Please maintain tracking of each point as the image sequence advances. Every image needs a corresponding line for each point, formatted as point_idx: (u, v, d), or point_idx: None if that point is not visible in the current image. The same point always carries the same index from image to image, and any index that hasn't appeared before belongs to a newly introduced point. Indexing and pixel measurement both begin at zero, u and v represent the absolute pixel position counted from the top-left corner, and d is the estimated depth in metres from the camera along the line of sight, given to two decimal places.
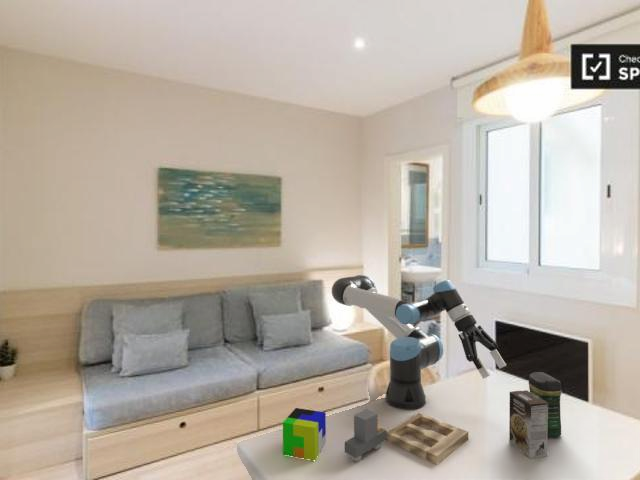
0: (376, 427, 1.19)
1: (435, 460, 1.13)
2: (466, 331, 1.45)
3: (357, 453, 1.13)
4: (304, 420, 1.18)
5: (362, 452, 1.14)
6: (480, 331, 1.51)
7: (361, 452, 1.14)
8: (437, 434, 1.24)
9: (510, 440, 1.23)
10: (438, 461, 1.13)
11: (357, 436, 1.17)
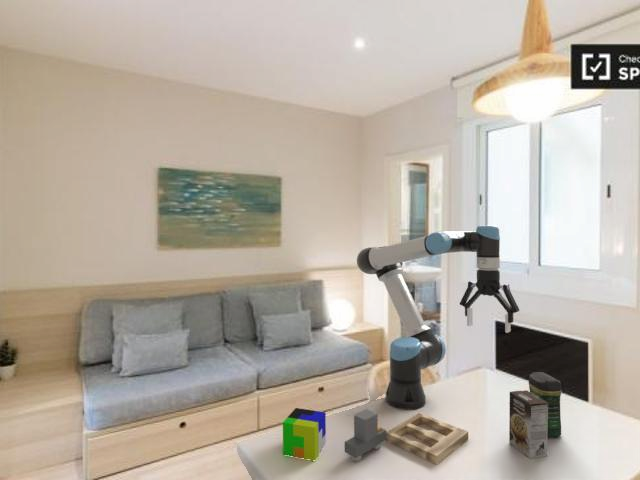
0: (376, 427, 1.19)
1: (435, 460, 1.13)
2: (476, 282, 1.43)
3: (357, 453, 1.13)
4: (304, 420, 1.18)
5: (362, 452, 1.14)
6: None
7: (361, 452, 1.14)
8: (437, 434, 1.24)
9: (510, 440, 1.23)
10: (438, 461, 1.13)
11: (357, 436, 1.17)
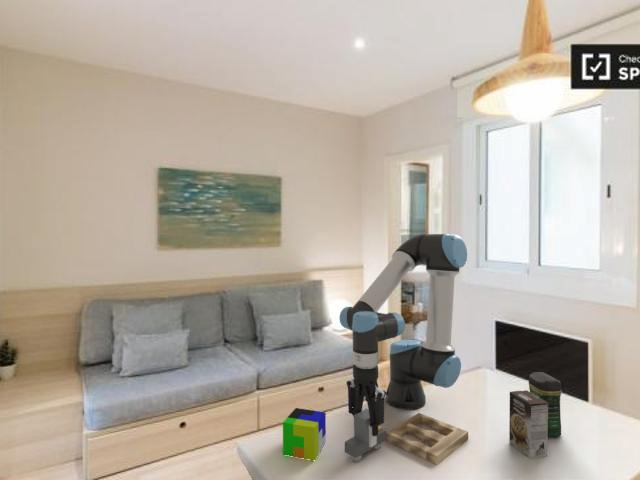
0: None
1: (435, 460, 1.13)
2: (353, 379, 1.21)
3: (357, 453, 1.13)
4: (304, 420, 1.18)
5: (362, 452, 1.14)
6: None
7: (361, 452, 1.14)
8: (437, 434, 1.24)
9: (510, 440, 1.23)
10: (438, 461, 1.13)
11: (357, 436, 1.17)
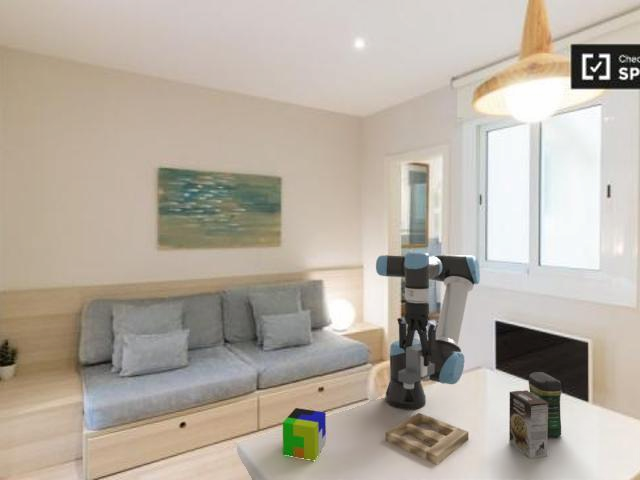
0: None
1: (435, 460, 1.13)
2: None
3: (411, 380, 1.21)
4: (304, 420, 1.18)
5: (415, 380, 1.23)
6: None
7: (414, 380, 1.22)
8: (437, 434, 1.24)
9: (510, 440, 1.23)
10: (438, 461, 1.13)
11: (408, 367, 1.26)
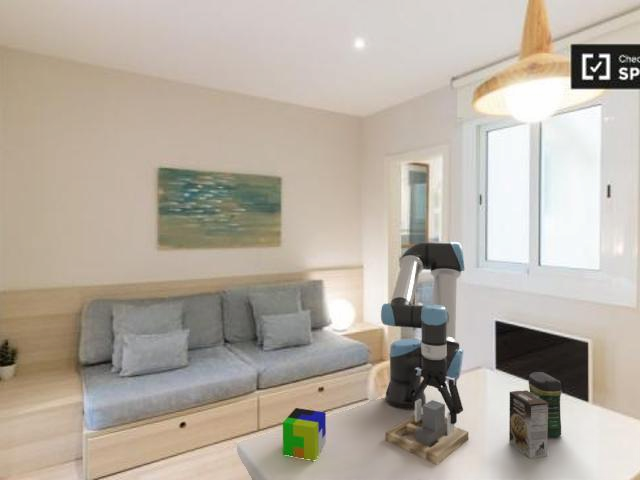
0: (444, 417, 1.23)
1: (435, 460, 1.13)
2: (421, 370, 1.25)
3: (429, 441, 1.17)
4: (304, 420, 1.18)
5: (433, 441, 1.19)
6: None
7: (432, 441, 1.19)
8: None
9: (510, 440, 1.23)
10: (438, 461, 1.13)
11: (425, 425, 1.22)
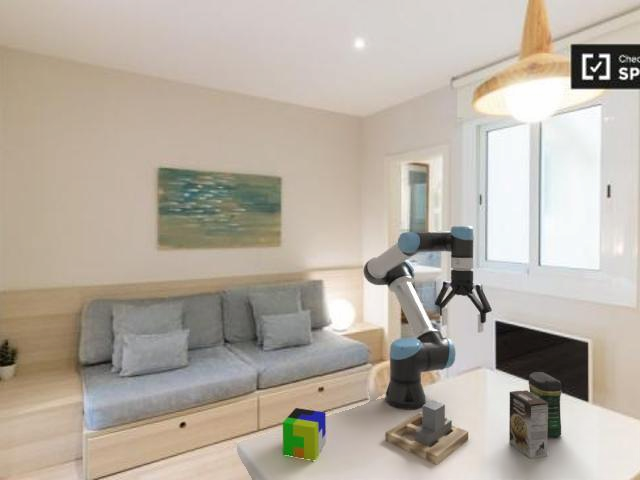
0: (444, 417, 1.23)
1: (435, 460, 1.13)
2: (450, 282, 1.44)
3: (429, 441, 1.17)
4: (304, 420, 1.18)
5: (433, 441, 1.19)
6: None
7: (432, 441, 1.19)
8: None
9: (510, 440, 1.23)
10: (438, 461, 1.13)
11: (425, 425, 1.22)
